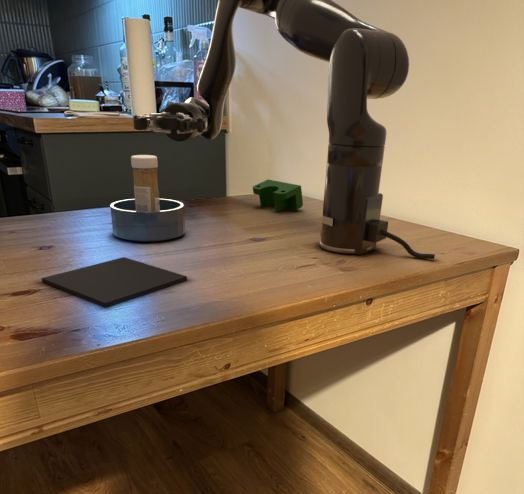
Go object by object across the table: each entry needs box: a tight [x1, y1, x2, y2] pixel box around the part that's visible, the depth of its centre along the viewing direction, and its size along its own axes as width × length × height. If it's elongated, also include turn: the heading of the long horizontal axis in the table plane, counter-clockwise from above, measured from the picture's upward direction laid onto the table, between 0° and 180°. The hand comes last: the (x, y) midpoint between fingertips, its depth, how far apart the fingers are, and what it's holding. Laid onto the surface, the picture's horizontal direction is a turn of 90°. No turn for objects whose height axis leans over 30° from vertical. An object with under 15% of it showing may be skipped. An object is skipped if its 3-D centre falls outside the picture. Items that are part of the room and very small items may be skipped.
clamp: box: [252, 179, 304, 213], centre depth 119 cm, size 12×6×9 cm, turn 37°
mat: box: [41, 256, 188, 308], centre depth 70 cm, size 14×14×1 cm
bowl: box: [109, 198, 186, 243], centre depth 93 cm, size 13×13×6 cm
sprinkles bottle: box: [130, 154, 160, 211], centre depth 91 cm, size 5×5×13 cm
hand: (160, 125), depth 95 cm, fingers open, 8 cm apart
